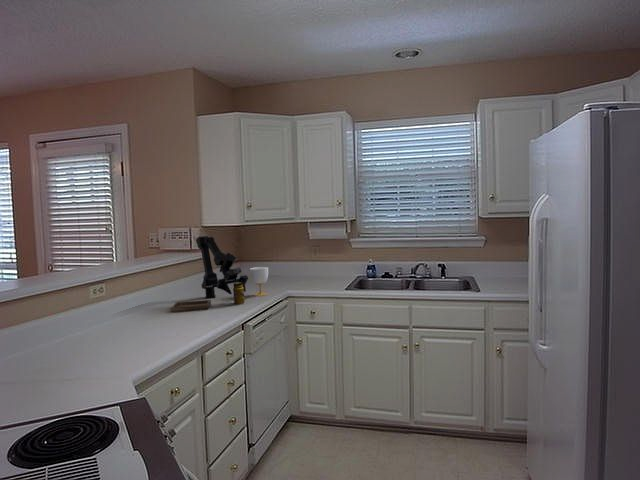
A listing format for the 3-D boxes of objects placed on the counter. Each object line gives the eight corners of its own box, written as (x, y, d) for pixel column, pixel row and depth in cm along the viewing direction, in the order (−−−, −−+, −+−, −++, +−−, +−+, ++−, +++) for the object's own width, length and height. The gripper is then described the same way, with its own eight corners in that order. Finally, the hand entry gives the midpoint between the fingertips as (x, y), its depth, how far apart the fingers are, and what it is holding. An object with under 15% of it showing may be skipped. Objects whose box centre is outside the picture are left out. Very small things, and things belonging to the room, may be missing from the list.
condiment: (247, 303, 271) (245, 283, 271) (233, 305, 267) (232, 285, 266) (242, 301, 278) (240, 281, 277) (228, 304, 273) (227, 283, 272)
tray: (176, 306, 274) (176, 302, 274) (211, 303, 276) (210, 299, 276) (170, 312, 258) (170, 308, 258) (207, 309, 260) (207, 305, 260)
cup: (273, 293, 300) (271, 266, 299) (263, 296, 290) (261, 269, 289) (257, 292, 305) (256, 266, 304) (247, 296, 295) (245, 269, 294)
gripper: (217, 265, 268) (227, 286, 260) (245, 261, 280) (256, 281, 272) (211, 278, 274) (222, 298, 267) (239, 273, 286) (250, 293, 278)
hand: (238, 292), depth 271 cm, fingers open, 9 cm apart
